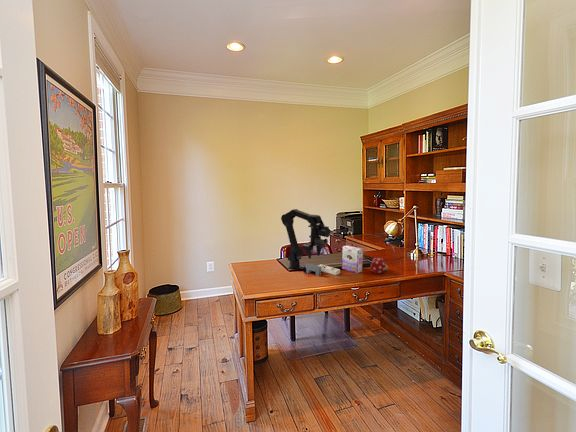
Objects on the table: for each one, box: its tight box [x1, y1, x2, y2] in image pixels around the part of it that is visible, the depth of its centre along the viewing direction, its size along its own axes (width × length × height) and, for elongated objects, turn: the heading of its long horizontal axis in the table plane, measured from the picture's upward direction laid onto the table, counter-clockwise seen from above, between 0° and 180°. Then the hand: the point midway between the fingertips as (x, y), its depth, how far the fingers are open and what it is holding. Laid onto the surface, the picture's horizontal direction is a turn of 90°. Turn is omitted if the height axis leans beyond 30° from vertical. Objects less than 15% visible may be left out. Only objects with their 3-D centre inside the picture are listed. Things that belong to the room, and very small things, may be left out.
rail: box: [317, 264, 341, 276], centre depth 221 cm, size 16×5×3 cm, turn 48°
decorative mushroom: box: [370, 256, 389, 274], centre depth 222 cm, size 11×11×15 cm
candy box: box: [341, 244, 364, 274], centre depth 223 cm, size 14×6×16 cm, turn 41°
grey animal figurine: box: [305, 262, 322, 277], centre depth 217 cm, size 11×3×6 cm, turn 48°
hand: (314, 257), depth 215 cm, fingers open, 9 cm apart
